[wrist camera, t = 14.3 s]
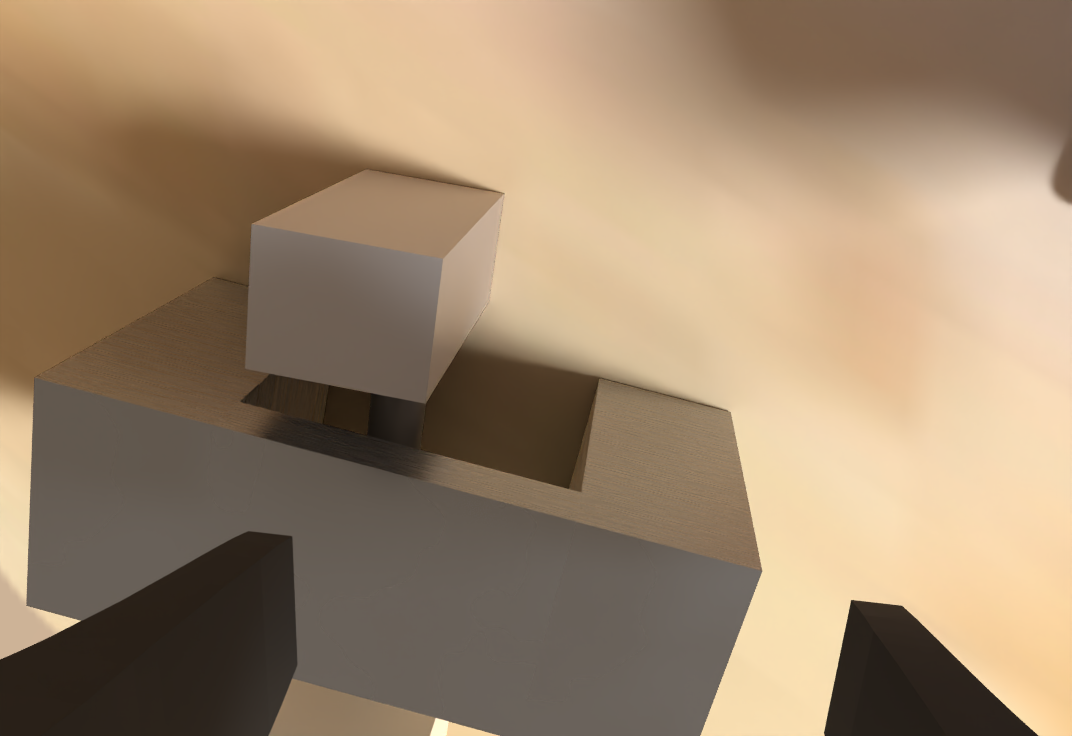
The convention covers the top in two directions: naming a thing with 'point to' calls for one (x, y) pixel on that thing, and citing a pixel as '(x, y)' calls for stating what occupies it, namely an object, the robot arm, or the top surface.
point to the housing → (403, 533)
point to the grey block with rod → (369, 338)
